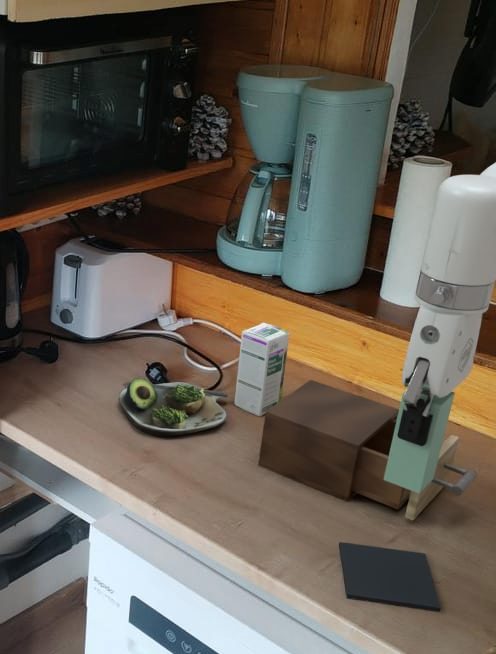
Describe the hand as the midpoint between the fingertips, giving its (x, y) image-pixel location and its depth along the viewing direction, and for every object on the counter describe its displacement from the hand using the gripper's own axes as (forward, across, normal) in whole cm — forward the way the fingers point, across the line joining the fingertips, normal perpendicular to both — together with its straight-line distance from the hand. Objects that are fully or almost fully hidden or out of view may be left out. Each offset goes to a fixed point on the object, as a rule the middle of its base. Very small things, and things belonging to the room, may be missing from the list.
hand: (420, 431), depth 108 cm
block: (+7, 0, 0) cm, 7 cm away
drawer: (+21, +20, +6) cm, 29 cm away
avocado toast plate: (+22, +17, +45) cm, 53 cm away
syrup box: (+22, +30, +36) cm, 51 cm away
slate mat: (+22, 0, 0) cm, 22 cm away
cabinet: (+22, +20, +18) cm, 35 cm away
